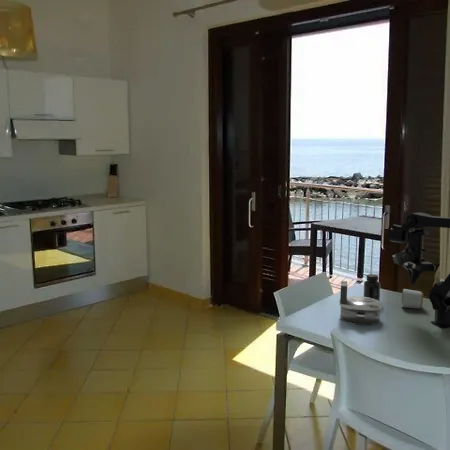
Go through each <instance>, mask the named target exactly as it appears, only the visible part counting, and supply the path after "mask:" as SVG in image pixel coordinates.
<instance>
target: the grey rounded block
mask: <svg viewBox="0 0 450 450" xmlns="http://www.w3.org/2000/svg"><path fill="white" fill-rule="evenodd" d="M401 293H402V295H401V306H400V307H401V308H406V309H416V310H418V309H421V308H423V304H424V293H423V292H422V291H419V290H412V289H407V288H403V289H402V292H401Z"/></svg>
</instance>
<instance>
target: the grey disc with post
mask: <svg viewBox="0 0 450 450" xmlns="http://www.w3.org/2000/svg"><path fill="white" fill-rule="evenodd" d="M339 297H340V298H339V303H338V304H339V306H340V307H341V306H342V307H343V308H346V309H349V310H354V311H363V312H370V311H377V310H380V311H381V309H382V308H383V303H382V302H381V300H380V301H378V300H376V299H373V298H368V297H364V296H360V295H359V296H357V295H356V296H348V281H347V280H341V281H340V296H339Z"/></svg>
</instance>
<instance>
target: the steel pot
mask: <svg viewBox="0 0 450 450" xmlns="http://www.w3.org/2000/svg"><path fill="white" fill-rule="evenodd" d="M339 317H340V319H341V320H342V321H343V322H346V323H349V324H353V325H354V324H355V325H362V326H366V325H367V326H368V325H375V324H378V323H380V321H381V309H380V310H377V311H370V312H363V311H354V310H349V309H346V308H343V307H342V306H340V313H339Z"/></svg>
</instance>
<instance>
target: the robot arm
mask: <svg viewBox="0 0 450 450" xmlns="http://www.w3.org/2000/svg"><path fill="white" fill-rule="evenodd" d="M429 227H431V228H433V227H434V228H446V229H450V217H449V216H434V215H431V214H429V213H424V212H413V213H408V216H407V217H406V220H405V221H404V223H403V224H402V225H399V224H391V228H390V229H389V231H388V234H387V235H388V240H389V241H390V242H393V243H400V244H405V243H407V244H406V246H404V248H403V251H400V252H397V253H395V254H392V260H393V263H394V264H396V265H398V266H402V267H403V268H404V269H405V270H407V275H408V279H409V282H410V284H411V285H415V284H416V282H417V281H418V278H420V276H421V274H422V273H424V272H435V270H436V265H435V264H434V262H430V261H425V258H423V252H425V251H426V248H425V247H424V236H426V235H430V232H429V231H428V230H427V228H429ZM428 292H430V293H429V294H428V298H429V301H430V303H431V305H432V306H431V307H432V310H434V320H431V321H430V322H431V323H432V324H433V325H436V326H437V327H439V328H441V329H444V328H450V273H449V274H448V275H447V276H446V278H445V279H444V280H441V281H438V282H435V283H434V284H433V286H432V288H431V289H430V290H429V291H428Z"/></svg>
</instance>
